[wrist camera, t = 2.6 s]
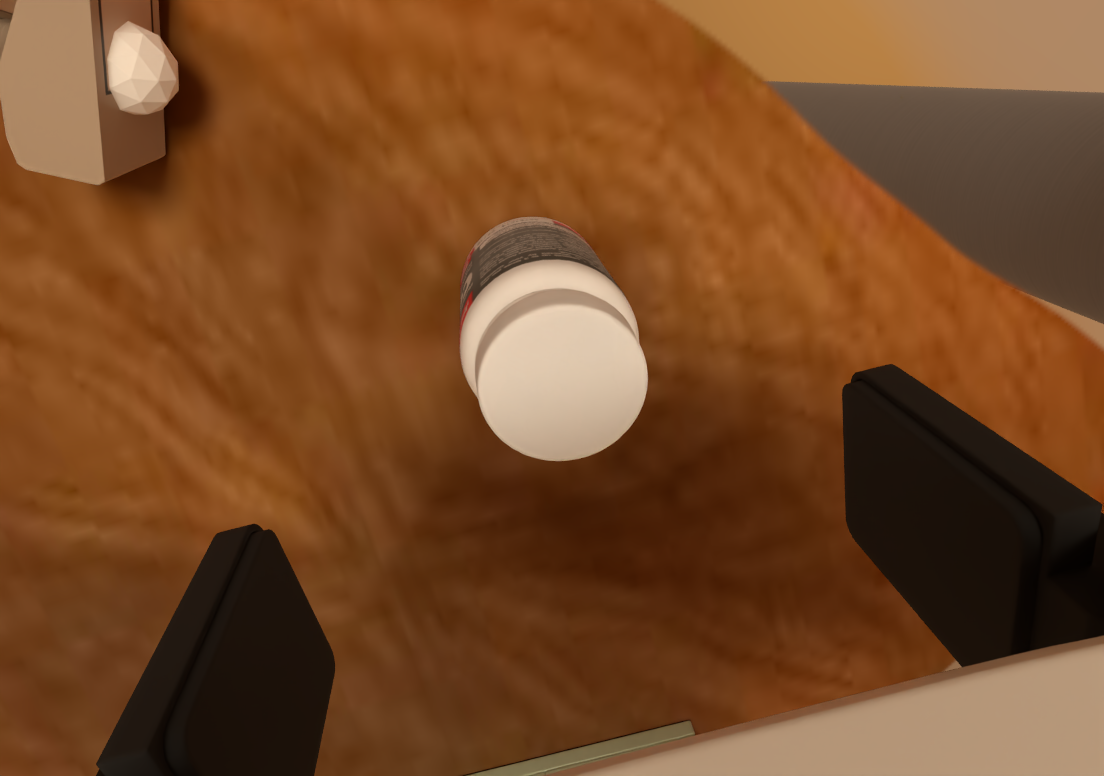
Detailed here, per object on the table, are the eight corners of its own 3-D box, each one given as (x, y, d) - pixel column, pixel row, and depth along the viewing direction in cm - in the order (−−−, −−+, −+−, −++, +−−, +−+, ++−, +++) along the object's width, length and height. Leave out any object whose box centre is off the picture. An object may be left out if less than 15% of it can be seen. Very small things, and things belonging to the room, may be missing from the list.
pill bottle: (438, 244, 22) (423, 333, 15) (574, 192, 22) (628, 255, 15) (492, 368, 24) (502, 501, 17) (616, 322, 24) (684, 435, 17)
